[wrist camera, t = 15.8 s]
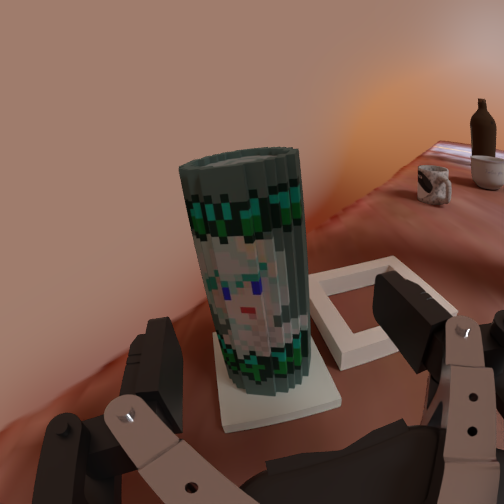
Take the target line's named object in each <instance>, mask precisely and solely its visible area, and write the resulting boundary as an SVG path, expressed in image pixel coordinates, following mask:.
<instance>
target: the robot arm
mask: <svg viewBox="0 0 504 504" xmlns="http://www.w3.org/2000/svg"><path fill="white" fill-rule="evenodd" d="M373 314H374V317H375V320H376V321H377V323H378V324H379V325H380V326H381V328H382V329H383V330H384V332H385V333H386V334H387V335H388V337H389V338H390V339H391V341H392V342H393V343H394V345H395V346H396V347H397V349H398V350H399V351H400V352H401V354H402V355H403V356H404V358H405V359H406V360H407V362H408V363H409V364H410V366H411V367H412V369H413V370H414V371H415V373H416V374H418V373H420V372H423V371H425V370H428V371H429V376H428V379H427V388H426V396H425V403H424V410H423V416H422V420H421V423H420V425H414V426H407V425H406V423H405V421H404V420H403V418H402V419H400V420H398V421H395V422H393V423H391V424H388V425H386V426H383V427H381V428H378V429H376V430H373V431H371V432H370V433H368V434H367V435H365V436H364V437H362V438H361V439H359V440H358V441H356V442H355V443H353V444H351V445H350V446H348V447H346V448H345V449H343V450H339V451H328V452H314V453H300V454H296V455H292V456H288V457H284V458H279V459H274V460H269V461H265V462H266V467H267V470H265V471H263V472H261V473H259V474H257V475H255V476H253V477H252V478H250V479H249V480H247V481H246V482H245V483H244V484H242V485H241V486H240V487H239V488H238V487H237V486H236V485H235V484H233V483H232V482H231V481H230V480H228V479H227V478H226V477H225V476H224V475H222V474H221V473H220V472H219V471H218V470H217V469H215V468H214V467H213V466H212V465H211V464H210V463H209V462H207V461H206V460H205V459H204V458H203V457H202V456H201V455H200V454H199V453H198V452H196V451H195V450H194V449H193V448H192V447H191V446H190V445H189V444H188V443H187V442H186V441H184V440H183V439H179V438H178V437H177V436H176V435H175V434H177V433H183V428H182V401H183V356H182V351H181V348H180V345H179V342H178V340H177V337H176V334H175V331H174V328H173V326H172V323H171V320H170V318H169V317H163V318H156V319H150V320H149V321H148V324H147V329H146V334H140V335H138V336H137V337H136V338H135V340H134V341H133V342H132V344H131V345H130V350H129V354H128V356H129V357H128V358H127V362H126V364H127V365H126V367H125V371H124V376H123V380H122V385H121V390H120V395H119V397H117V398H115V399H114V400H112V401H111V402H110V403H109V404H108V405H107V407H106V409H105V412H104V414H103V415H101V416H98V417H95V418H91V419H88V420H85V421H81V420H80V419H79V418H78V417H77V416H76V415H75V414H72V413H62V414H59V415H57V416H56V417H54V418H53V419H52V420H51V421H50V423H49V424H48V426H47V429H46V432H45V436H44V441H43V445H42V449H41V454H40V459H39V464H38V469H37V474H36V480H35V486H34V492H33V499H32V504H121V481H122V474H124V473H127V472H131V471H134V470H138V472H139V473H140V475H141V476H142V477H143V478H144V480H145V481H146V482H147V483H148V485H149V486H150V487H151V488H152V489H153V491H154V492H155V493H156V494H157V495H158V496H159V497H160V499H161V500H162V501H163V502H164V503H165V504H504V450H501V449H497V448H496V409H497V410H498V412H499V413H500V414H501V416H502V417H503V419H504V310H501V311H498V312H497V313H496V314H495V316H494V319H493V322H492V323H489V324H482V325H478V324H477V323H476V322H475V321H474V320H473V319H471V318H469V317H466V316H454V317H453V316H452V315H451V314H450V313H449V312H448V311H447V310H446V309H445V308H444V307H443V306H442V305H440V304H439V303H438V302H437V301H436V300H435V299H434V298H432V296H431V295H430V294H428V293H426V291H425V290H424V289H423V288H422V287H421V286H420V285H418V284H417V283H414V282H412V281H410V280H408V279H406V280H405V279H404V278H403V277H402V276H401V275H400V274H399V273H398V272H396V271H395V270H393V271H389V272H385V273H381V274H378V275H376V278H375V286H374V297H373Z"/></svg>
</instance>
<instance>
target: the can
mask: <svg viewBox="0 0 504 504" xmlns="http://www.w3.org/2000/svg"><path fill="white" fill-rule="evenodd" d="M179 174H180V179H181V184H182V189H183V194H184V199H185V204H186V208H187V213H188V218H189V222H190V227H191V231H192V236H193V240H194V245H195V249H196V253H197V258H198V262H199V266H200V270H201V274H202V279H203V283H204V287H205V291H206V295H207V299H208V303H209V306H210V310H211V314H212V318H213V322H214V326H215V329H216V333H217V337H218V340H219V344H220V348H221V351H222V355H223V358H224V362H225V365H226V369H227V372H228V376H229V379H232V381H233V384H236V386H237V388H239V389H246V393H247V394H253V395H263V396H276V392H283V393H288V391H289V388H291V389H295V385H296V384H299V385H301V384H302V378H303V376H309V368H310V361H311V329H310V299H309V277H308V259H307V242H306V228H305V214H304V202H303V190H302V180H301V169H300V159H299V150H298V149H293V148H292V147H291V148H286V147H271V148H268V147H264V148H254V149H245V150H237V151H234V152H225V153H221V154H215V155H212V156H207V157H204V158H201V159H197V160H193V161H190V162H188V163H186V164H184V165H182V166H179Z"/></svg>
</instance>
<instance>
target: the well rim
mask: <svg viewBox="0 0 504 504" xmlns="http://www.w3.org/2000/svg"><path fill="white" fill-rule="evenodd" d="M393 270H395V271H396V272H398V273H399V274H400V275H401V276H402V277H403V278H404V279H405V280H406V279H408V280H410V281H412V282H414V283H417V284H418V285H420V286H421V287H422V288H423V289H424V290H425V291H426V293H428V294H430V295H431V296H432V298H434V299H435V300H436V301H437V302H438V303H439V304H440V305H442V306H443V307H444V308H445V309H446V310H447V311H448V312H449V313H450V314H451V315H452V316H453V317H454V316H457V313H458V310H456V309H455V308H454V307H453V306H452V305H451V304H450V303H449V302H448V301H446V300H445V299H444V298H443V297H442V296H441V295H440V294H439V293H437V292H436V291H435V290H434V289H433V288H432V287H431V286H429V285H428V284H427V283H426V282H425V281H424V280H422V279H421V278H420V277H419V276H418V275H416V274H415V273H414V272H413V271H412V270H410V269H409V268H408V267H407V266H406V265H404V264H403V263H402V262H401V261H399V260H398V259H397V258H396V257H395V256H390V257H386V258H381V259H377V260H373V261H369V262H364V263H360V264H356V265H351V266H347V267H342V268H338V269H333V270H329V271H324V272H320V273H315V274H310V275H308V277H309V299H310V315H311V317H312V319H313V320H314V322H315V324H316V326H317V328H318V330H319V332H320V333H321V335H322V337H323V339H324V341H325V343H326V345H327V346H328V348H329V350H330V352H331V354H332V356H333V358H334V360H335V361H336V363H337V365H338V367H339V369H340V371H342V370H345V369H348V368H351V367H355V366H358V365H361V364H364V363H367V362H370V361H373V360H376V359H378V358H381V357H384V356H387V355H390V354H392V353H395V352H398V351H399V350H398V349H397V347H396V346H395V345H394V343H393V342H392V341H391V339H390V338H389V337H388V335H387V334H386V333H385V332H384V330H383V329H382V328H381V326H378V327H375V328H371V329H368V330H365V331H362V332H358V333H355V334H353V333H352V331H351V330H350V328H349V327H348V325H347V324H346V322H345V321H344V320H343V318H342V317H341V315H340V314H339V312H338V311H337V309H336V308H335V306H334V305H333V303H332V302H331V300H330V299H329V297H328V296H330V295H334V294H338V293H342V292H346V291H350V290H354V289H358V288H362V287H365V286H369V285H373V284H375V278H376V275H378V274H381V273H385V272H389V271H393Z"/></svg>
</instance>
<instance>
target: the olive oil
mask: <svg viewBox="0 0 504 504" xmlns="http://www.w3.org/2000/svg"><path fill="white" fill-rule="evenodd" d="M470 128H471V144H472V156H490V157H495V151H496V124H495V121H494V119H493V118H492V116H491V115H490V114H489V112H488V111H487V106H486V100H485V99H478V110H477V111H476V113H475V114H474V115H473V116H472V118H471V121H470Z"/></svg>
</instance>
